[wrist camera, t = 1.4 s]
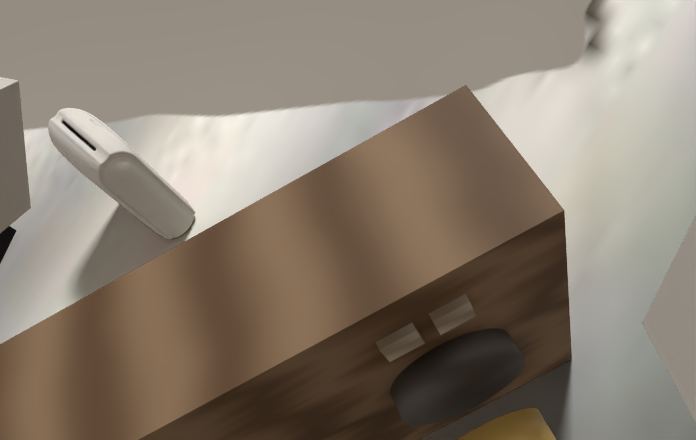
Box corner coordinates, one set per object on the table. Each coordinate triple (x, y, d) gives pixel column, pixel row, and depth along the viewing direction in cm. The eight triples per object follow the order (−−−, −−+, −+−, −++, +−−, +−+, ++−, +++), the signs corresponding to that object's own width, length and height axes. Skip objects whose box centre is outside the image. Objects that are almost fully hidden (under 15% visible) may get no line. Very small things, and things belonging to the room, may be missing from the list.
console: (508, 264, 45) (465, 84, 28) (585, 379, 39) (586, 239, 23) (179, 441, 46) (-41, 367, 30) (209, 574, 41) (-40, 573, 25)
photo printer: (117, 198, 61) (24, 123, 51) (147, 167, 62) (62, 87, 52) (172, 249, 56) (81, 176, 46) (204, 214, 57) (122, 135, 46)
